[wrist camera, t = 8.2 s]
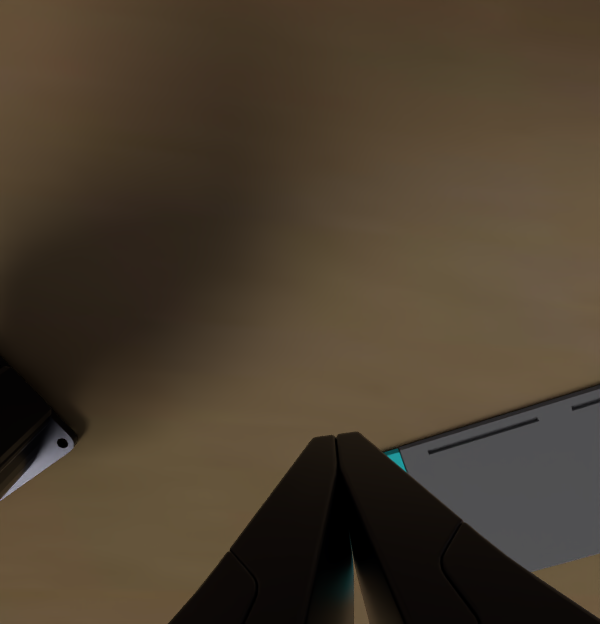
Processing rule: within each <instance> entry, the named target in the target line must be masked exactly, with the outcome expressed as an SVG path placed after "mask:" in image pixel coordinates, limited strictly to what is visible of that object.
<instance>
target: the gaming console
mask: <svg viewBox="0 0 600 624" xmlns="http://www.w3.org/2000/svg"><path fill="white" fill-rule="evenodd" d="M399 449H400V452H401V455H402V458H403V461H404V464H405V466H404V464H403V461H402V458H401V455H400V452H399ZM399 449H398V448H397V449H394V450H390V451H387V452H384V454H385V455H387V456H388V457H389V458H390V459H391V460H392V461H394V462H395V463H396V464H397V465H398V466H400V467H401V468H402V469H403V470H404V471H406V469H407V472H408V474H409V475H410V476H411V477H413V478H414V479H415V480H416V481H417V482H419V483H420V484H421V485H422V486H423V487H424V488H426V489H427V490H428V491H429V492H430V493H432V494H433V495H434V496H435V497H436V498H437V499H439V500H440V501H441V502H442V503H443V504H445V505H446V506H447V507H448V508H449V509H451V510H452V511H453V512H454V513H455V514H456V515H458V516H459V517H460V518H461V519H462V520H463V521H464V522H466V523H467V524H469V525H470V526H471V527H472V528H473V529H475V530H476V531H477V532H478V533H479V534H480V535H482V536H483V537H484V538H485V539H487V540H488V541H489V542H490V543H492V544H493V545H494V546H496V547H497V548H498V549H499V550H501V551H502V552H503V553H504V554H506V555H507V556H508V557H510V558H511V559H512V560H514V561H515V562H517V563H518V564H520V565H521V566H522V567H524V568H525V569H527V570H528V571H529V572H533V571H537V570H540V569H544V568H548V567H551V566H555V565H559V564H562V563H566V562H570V561H573V560H577V559H581V558H585V557H588V556H592V555H596V554H599V553H600V385H597V386H594V387H591V388H588V389H585V390H581V391H578V392H575V393H572V394H569V395H565V396H562V397H559V398H556V399H552V400H549V401H546V402H543V403H540V404H536V405H533V406H530V407H527V408H523V409H520V410H517V411H514V412H511V413H507V414H504V415H501V416H498V417H494V418H491V419H488V420H485V421H482V422H478V423H475V424H472V425H469V426H466V427H462V428H459V429H456V430H453V431H449V432H446V433H443V434H440V435H437V436H433V437H430V438H427V439H424V440H420V441H417V442H414V443H411V444H408V445H404V446H401V447H399ZM405 467H406V469H405Z"/></svg>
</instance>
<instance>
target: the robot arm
mask: <svg viewBox="0 0 600 624" xmlns="http://www.w3.org/2000/svg"><path fill="white" fill-rule="evenodd" d="M61 438H64V439H66V440H67V442H68V443H64V442H63V441H62V440H61ZM77 441H78V439H77V435H76V434H75V433H74V431H73V430H72V429H71V428H70V427H69V426H68V425H67V424H66V423H65V422H64V421H63V420H62V419H61V418H60V417H59V416H58V415H57V414H56V413H55V412H54V411H53V410H52V409H51V408H50V406H49V405H48V404H47V403H46V402H45V401H44V400H43V399H42V398H41V397H40V396H39V395H38V394H37V393H36V392H35V391H34V390H33V389H32V388H31V387H30V386H29V385H28V384H27V383H26V382H25V381H24V379H23V378H22V377H21V376H20V375H19V374H18V373H17V372H16V371H15V370H14V369H13V368H12V367H11V366H10V365H9V364H8V363H7V362H6V361H5V360H4V359H3V358H2V357H1V356H0V501H1V500H2V499H3V498H5V497H6V496H8V495H9V494H10V493H12V492H13V491H15V490H16V489H18V488H19V487H20V486H22V485H23V484H25V483H26V482H27V481H29V480H30V479H32V478H33V477H34V476H36V475H37V474H39V473H40V472H42V471H43V470H44V469H46V468H47V467H49V466H50V465H51V464H53V463H54V462H56V461H57V460H58V459H60V458H61V457H63V456H64V455H65V454H67V453H68V452H70V451H71V450H72V449H73V447H74V446H75V445H76V444H77ZM350 539H351V540H350ZM351 546H352V547H351ZM352 552H353V556H352ZM353 558H354V564H355V568H356V572H357V577H358V581H359V584H360V588H361V592H362V596H363V600H364V603H365V607H366V611H367V615H368V619H369V622H370V624H600V619H599V618H598V617H596V616H595V615H593V614H592V613H590V612H589V611H587V610H586V609H584V608H583V607H581V606H580V605H578V604H577V603H575V602H574V601H572V600H571V599H569V598H568V597H566V596H565V595H563V594H562V593H560V592H559V591H557V590H556V589H554V588H553V587H551V586H550V585H548V584H547V583H545V582H544V581H542V580H541V579H539V578H538V577H537V576H535V575H534V574H532V573H531V572H529V571H528V570H527V569H525V568H524V567H522V566H521V565H520V564H518V563H517V562H515V561H514V560H512V559H511V558H510V557H508V556H507V555H506V554H504V553H503V552H502V551H501V550H499V549H498V548H497V547H496V546H494V545H493V544H492V543H490V542H489V541H488V540H487V539H485V538H484V537H483V536H482V535H480V534H479V533H478V532H477V531H476V530H475V529H473V528H472V527H471V526H470V525H469V524H467V523H466V522H464V521H463V520H462V519H461V518H460V517H459V516H458V515H456V514H455V513H454V512H453V511H452V510H451V509H449V508H448V507H447V506H446V505H445V504H443V503H442V502H441V501H440V500H439V499H437V498H436V497H435V496H434V495H433V494H432V493H430V492H429V491H428V490H427V489H426V488H424V487H423V486H422V485H421V484H420V483H419V482H417V481H416V480H415V479H414V478H413V477H411V476H410V475H409V474H408V473H407V472H406V471H404V470H403V469H402V468H401V467H400V466H398V465H397V464H396V463H395V462H394V461H392V460H391V459H390V458H389V457H388V456H387V455H385V454H384V453H383V452H382V451H381V450H379V449H378V448H377V447H376V446H375V445H374V444H372V443H371V442H370V441H369V440H368V439H366V438H365V437H364V436H363V435H362V434H361V433H359V432H350V433H342V434H338V435H337V437H335V436H333V435H328V436H320V437H314V438H313V439H312V440H311V441H310V442H309V444H308V445H307V446H306V448H305V449H304V450H303V452H302V453H301V454H300V456H299V457H298V458H297V460H296V461H295V462H294V464H293V465H292V466H291V468H290V469H289V470H288V472H287V473H286V474H285V476H284V477H283V478H282V480H281V481H280V482H279V484H278V485H277V486H276V488H275V489H274V490H273V492H272V493H271V494H270V496H269V497H268V498H267V500H266V501H265V502H264V504H263V505H262V506H261V508H260V509H259V510H258V512H257V513H256V514H255V516H254V517H253V518H252V520H251V521H250V522H249V524H248V525H247V526H246V528H245V529H244V530H243V532H242V533H241V534H240V536H239V537H238V538H237V540H236V541H235V542H234V544H233V545H232V546H231V548H230V552H227V553H226V554H225V556H224V557H223V558H222V560H221V561H220V562H219V564H218V565H217V566H216V568H215V569H214V570H213V571H212V573H211V574H210V575H209V576H208V578H207V579H206V580H205V581H204V583H203V584H202V585H201V586H200V588H199V589H198V590H197V591H196V593H195V594H194V595H193V596H192V597H191V598H190V599H189V601H188V602H187V603H186V604H185V605H184V606H183V607H182V609H181V610H180V611H179V612H178V613H177V614H176V615H175V616H174V618H173V619H172V620H171V621H170V622H169V623H168V624H354V572H353Z"/></svg>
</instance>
